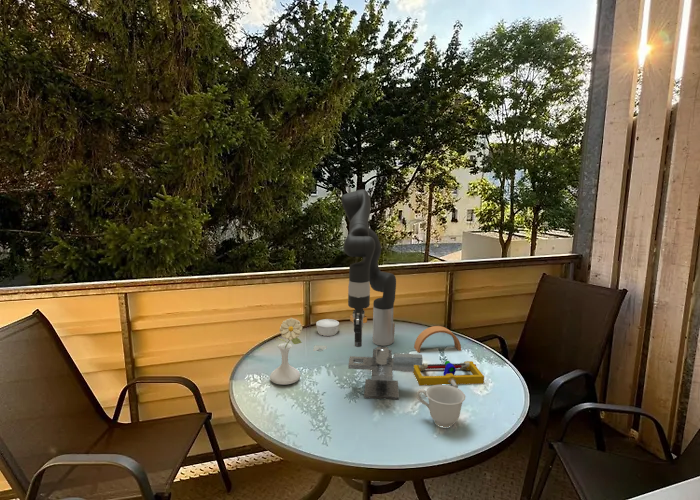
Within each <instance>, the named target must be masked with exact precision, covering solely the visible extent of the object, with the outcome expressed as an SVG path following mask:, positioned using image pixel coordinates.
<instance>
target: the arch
mask: <svg viewBox="0 0 700 500" xmlns="http://www.w3.org/2000/svg"><path fill="white" fill-rule="evenodd" d="M439 333H444V334H448V335H450V336H451V337H452V339H453V347H455V349H457V350H458V351H459V352H461V351H462V345H461V342H460V340H459V338H457V336H456V334H454V333H453V332H452V331H451V330H450V329H448V328H446V327H444V326H441V325H433V326H429V327H427V328H425V329H423V330H422V331H421V332H420V333H419V334H418V336H417V337H416V339H415V341H414V344H413V345H414V347H413V348H414V349H415V351H416V353H418V354H419V353H421V347H422V346H423V343H424V342H425V340H427V339H428V338H430V337H431V336H433V335H434V334H439Z"/></svg>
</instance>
